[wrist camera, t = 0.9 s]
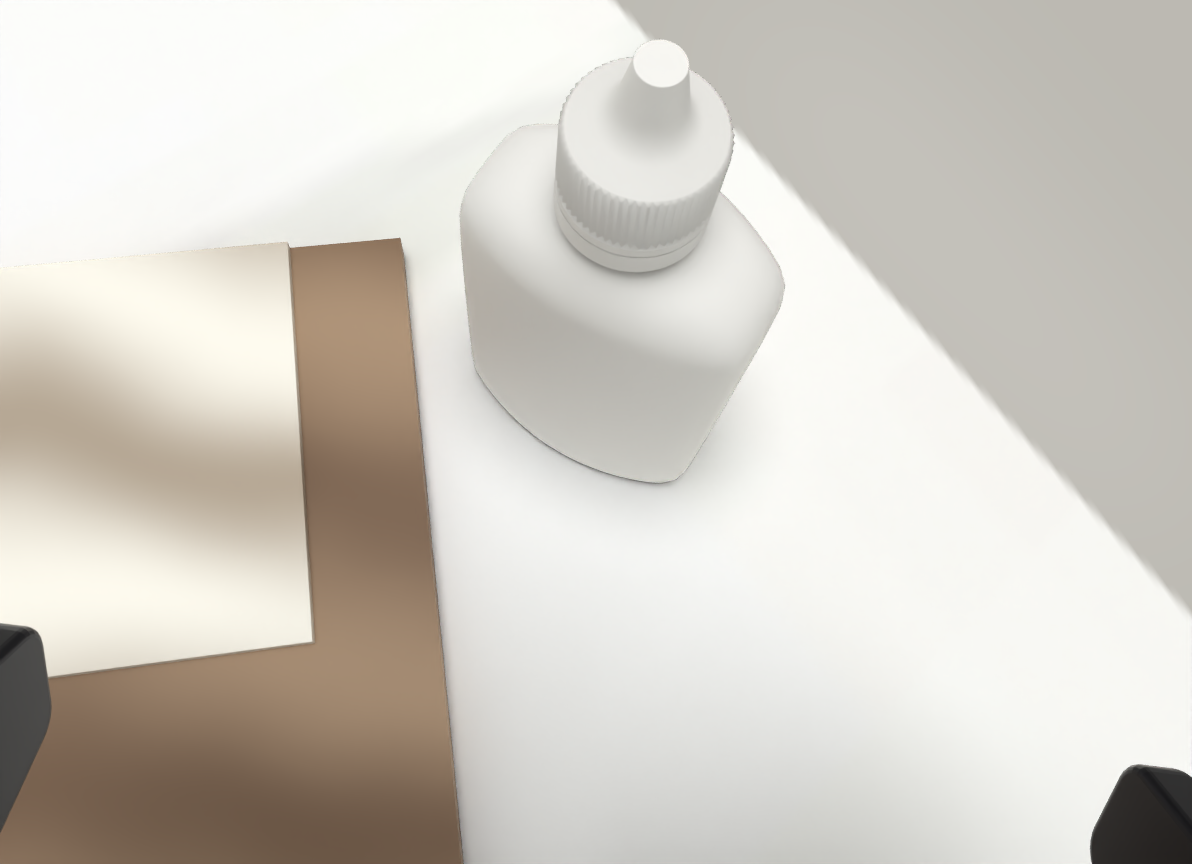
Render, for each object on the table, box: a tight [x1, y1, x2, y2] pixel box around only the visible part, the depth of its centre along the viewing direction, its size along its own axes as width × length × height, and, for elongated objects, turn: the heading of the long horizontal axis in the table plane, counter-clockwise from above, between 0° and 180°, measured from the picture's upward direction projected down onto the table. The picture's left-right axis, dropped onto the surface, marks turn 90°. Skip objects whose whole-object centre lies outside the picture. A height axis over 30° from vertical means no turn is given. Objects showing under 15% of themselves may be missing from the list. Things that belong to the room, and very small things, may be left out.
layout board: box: [0, 238, 464, 864], centre depth 20 cm, size 24×12×1 cm, turn 8°
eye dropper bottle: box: [460, 39, 785, 483], centre depth 19 cm, size 4×6×12 cm
